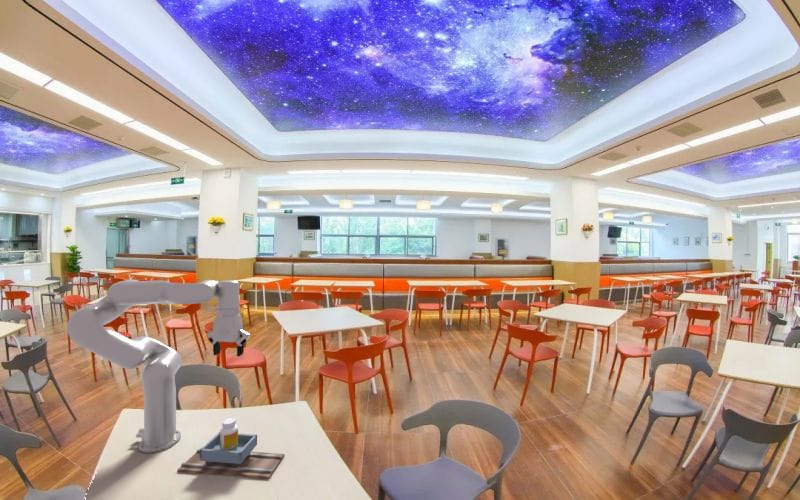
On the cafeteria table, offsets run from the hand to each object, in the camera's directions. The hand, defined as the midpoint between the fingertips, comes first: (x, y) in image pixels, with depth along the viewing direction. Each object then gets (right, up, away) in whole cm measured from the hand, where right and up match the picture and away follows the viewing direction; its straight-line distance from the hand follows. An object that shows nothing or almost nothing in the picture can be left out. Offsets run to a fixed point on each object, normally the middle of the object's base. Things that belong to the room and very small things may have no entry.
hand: (228, 354), depth 127 cm
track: (+11, -31, -19) cm, 38 cm away
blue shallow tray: (+10, -29, -18) cm, 36 cm away
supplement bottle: (+10, -26, -18) cm, 34 cm away
